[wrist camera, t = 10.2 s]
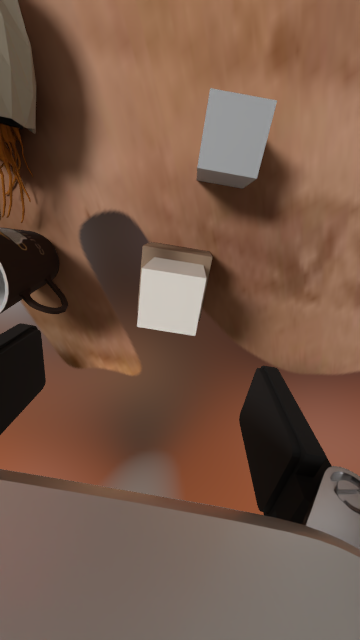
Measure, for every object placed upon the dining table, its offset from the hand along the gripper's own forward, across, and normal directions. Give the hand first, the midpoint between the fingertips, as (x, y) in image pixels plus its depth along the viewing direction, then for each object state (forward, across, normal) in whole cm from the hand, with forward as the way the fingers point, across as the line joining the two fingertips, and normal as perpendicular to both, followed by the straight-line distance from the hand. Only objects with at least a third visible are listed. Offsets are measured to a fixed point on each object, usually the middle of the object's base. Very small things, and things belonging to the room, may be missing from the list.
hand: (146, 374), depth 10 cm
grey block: (+20, -3, -13) cm, 24 cm away
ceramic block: (+15, 0, 0) cm, 15 cm away
